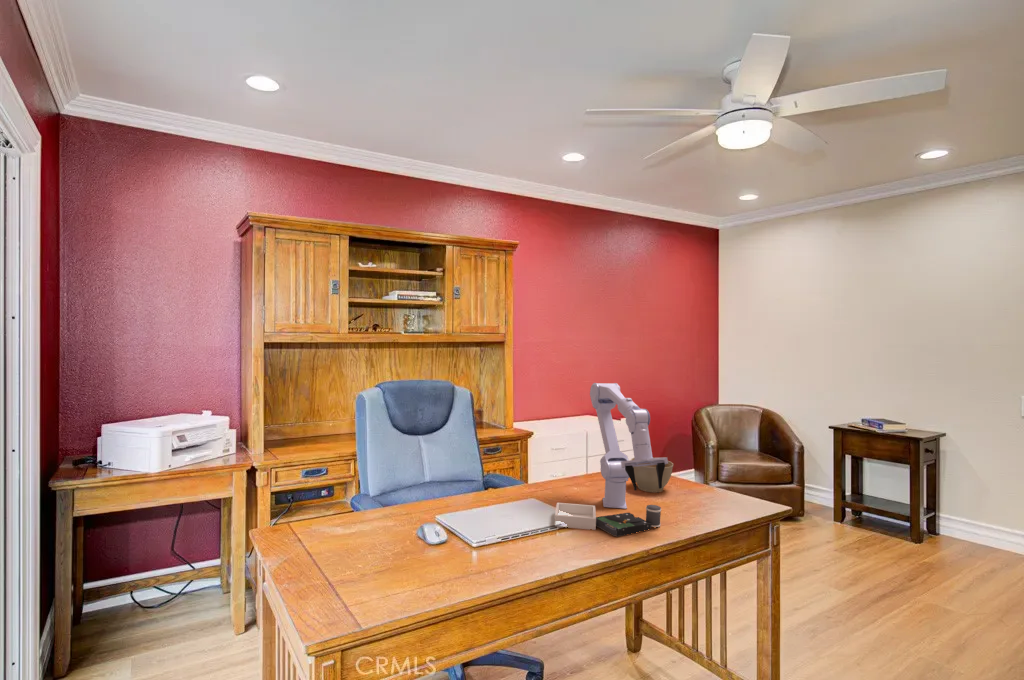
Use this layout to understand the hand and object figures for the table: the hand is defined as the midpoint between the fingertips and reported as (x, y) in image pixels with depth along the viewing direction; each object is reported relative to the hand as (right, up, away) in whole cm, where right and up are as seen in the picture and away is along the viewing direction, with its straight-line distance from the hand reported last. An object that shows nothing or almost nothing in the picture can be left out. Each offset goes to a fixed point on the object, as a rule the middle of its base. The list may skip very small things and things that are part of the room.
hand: (648, 489), depth 177 cm
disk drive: (-8, -12, -1) cm, 15 cm away
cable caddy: (-23, -11, +3) cm, 25 cm away
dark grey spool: (+2, -12, +2) cm, 12 cm away
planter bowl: (+11, -11, +42) cm, 45 cm away
